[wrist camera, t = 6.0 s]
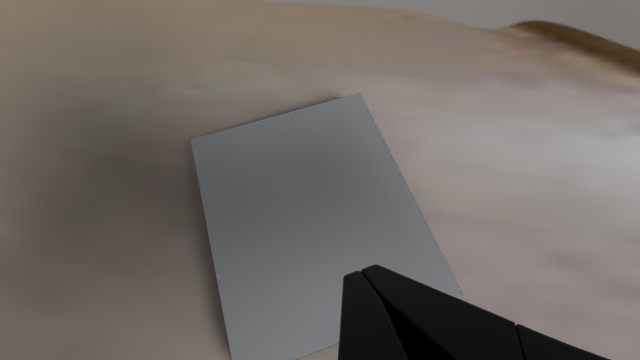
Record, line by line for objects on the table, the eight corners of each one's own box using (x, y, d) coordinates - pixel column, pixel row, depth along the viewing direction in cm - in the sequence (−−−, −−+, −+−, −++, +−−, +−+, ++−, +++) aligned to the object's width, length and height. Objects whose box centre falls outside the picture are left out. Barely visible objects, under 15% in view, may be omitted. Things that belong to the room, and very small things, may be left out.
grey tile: (463, 294, 14) (359, 92, 19) (236, 381, 13) (190, 139, 18) (447, 300, 16) (356, 114, 21) (246, 377, 14) (202, 157, 20)
